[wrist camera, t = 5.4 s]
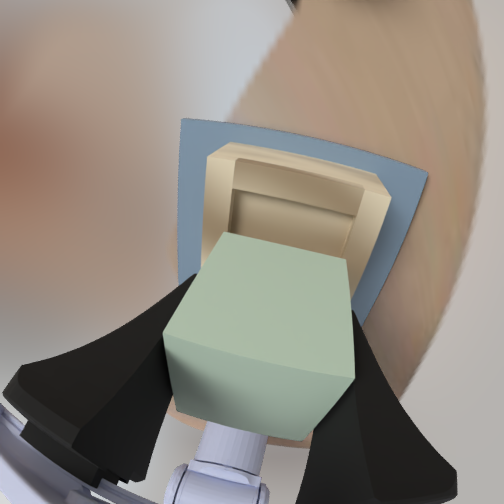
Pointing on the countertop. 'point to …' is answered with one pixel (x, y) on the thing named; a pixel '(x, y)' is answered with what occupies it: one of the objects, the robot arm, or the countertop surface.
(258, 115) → the countertop surface
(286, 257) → the green brick
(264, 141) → the mat
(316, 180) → the base brick
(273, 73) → the countertop surface
